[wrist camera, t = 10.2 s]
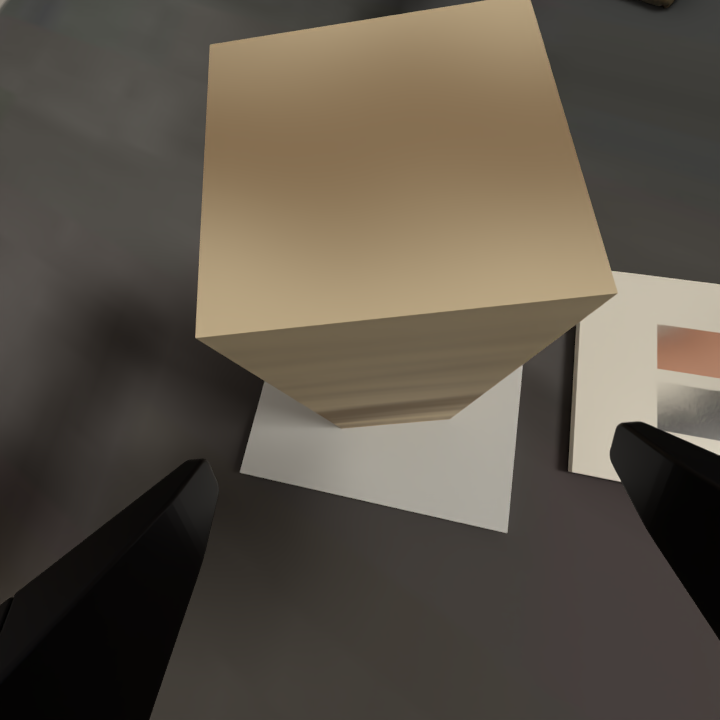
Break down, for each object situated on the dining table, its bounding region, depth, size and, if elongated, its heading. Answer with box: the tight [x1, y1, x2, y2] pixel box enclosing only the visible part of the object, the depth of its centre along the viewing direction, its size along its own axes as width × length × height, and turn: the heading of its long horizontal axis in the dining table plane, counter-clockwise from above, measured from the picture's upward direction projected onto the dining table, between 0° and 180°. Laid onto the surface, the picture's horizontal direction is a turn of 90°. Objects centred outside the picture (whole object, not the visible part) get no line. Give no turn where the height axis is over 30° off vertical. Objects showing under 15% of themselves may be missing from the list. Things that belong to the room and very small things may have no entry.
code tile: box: [568, 271, 720, 482], centre depth 16 cm, size 10×10×1 cm
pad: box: [240, 365, 523, 533], centre depth 18 cm, size 12×12×1 cm
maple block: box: [195, 0, 618, 429], centre depth 11 cm, size 5×5×13 cm
